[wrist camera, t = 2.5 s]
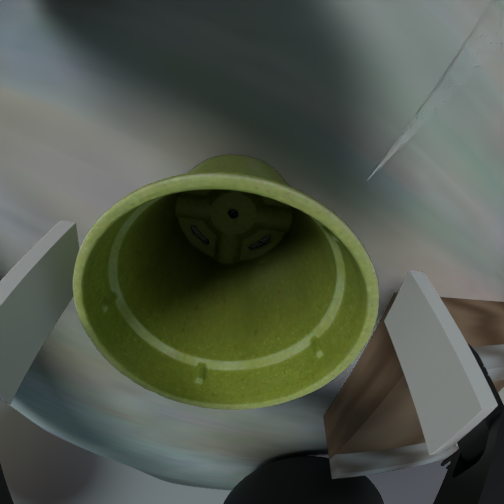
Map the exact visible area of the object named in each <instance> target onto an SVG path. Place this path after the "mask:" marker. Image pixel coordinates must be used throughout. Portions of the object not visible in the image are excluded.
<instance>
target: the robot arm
mask: <svg viewBox="0 0 504 504" xmlns="http://www.w3.org/2000/svg"><path fill="white" fill-rule="evenodd" d="M78 252H79V243H78V236H77V228H76V222H69V221H61V220H60V221H59V222H58V223H57V224H56V225H55V226H54V227H53V228H52V229H51V230H50V231H48V232H47V233H46V234H45V235H44V236H43V237H42V238H41V239H40V240H39V241H38V242H37V243H36V244H35V245H34V246H33V247H32V248H31V249H30V250H29V251H28V252H27V253H26V254H25V255H24V256H23V257H22V258H21V259H20V260H19V261H18V262H17V263H16V264H15V265H14V267H13V268H12V269H11V270H10V271H9V272H8V273H7V274H6V275H5V276H4V277H3V278H2V280H1V281H0V400H2V401H4V402H6V403H8V404H11V402H12V400H13V398H14V396H15V394H16V392H17V390H18V389H19V387H20V385H21V383H22V381H23V379H24V377H25V375H26V374H27V372H28V370H29V368H30V366H31V364H32V363H33V361H34V359H35V357H36V356H37V354H38V352H39V350H40V349H41V347H42V345H43V344H44V342H45V340H46V339H47V337H48V335H49V334H50V332H51V330H52V329H53V327H54V326H55V324H56V322H57V321H58V319H59V318H60V316H61V315H62V313H63V311H64V310H65V308H66V307H67V305H68V304H69V302H70V301H71V299H72V298H73V296H74V295H73V275H74V267H75V263H76V259H77V255H78ZM384 322H385V325H386V327H387V330H388V332H389V335H390V337H391V340H392V343H393V345H394V348H395V351H396V353H397V356H398V359H399V361H400V364H401V367H402V370H403V372H404V375H405V378H406V381H407V384H408V387H409V390H410V393H411V396H412V399H413V402H414V405H415V408H416V411H417V414H418V418H419V421H420V424H421V427H422V431H423V434H424V438H425V441H426V445H427V448H428V452H429V455H433V454H437V453H442V452H446V451H447V450H449V449H450V448H451V447H452V446H454V445H455V444H456V443H458V447H459V449H458V450H457V451H455V452H454V453H453V454H452V455H450V456H449V457H448V458H446V459H445V460H444V461H443V462H442V463H441V466H444V465H445V464H447V463H448V462H449V461H451V463H450V465H448V466H447V467H446V469H448V471H447V473H446V476H445V478H444V480H443V483H442V485H441V487H440V490H439V492H438V494H437V497H436V499H435V501H434V503H433V504H504V405H503V403H502V401H501V398H500V396H499V394H498V392H497V390H496V388H495V386H494V384H493V382H492V380H491V378H490V376H488V372H487V370H486V368H485V367H484V366H483V365H484V364H483V362H482V360H481V358H480V356H479V355H478V353H477V352H476V351H475V350H474V349H473V348H472V346H471V345H470V344H467V342H466V340H465V339H464V337H463V335H462V333H461V332H460V330H459V328H458V326H457V325H456V323H455V321H454V319H453V318H452V316H451V314H450V313H449V311H448V309H447V308H446V306H445V305H444V303H443V301H442V300H441V298H440V297H439V295H438V293H437V292H436V290H435V289H434V287H433V286H432V284H431V283H430V281H429V279H428V278H427V276H426V275H425V273H424V272H419V271H412V270H409V271H408V273H407V275H406V278H405V280H404V282H403V284H402V286H401V288H400V290H399V292H398V294H397V297H396V299H395V301H394V303H393V305H392V307H391V309H390V310H389V312H388V314H387V316H386V318H385V320H384ZM0 504H14V503H13V501H12V498H11V495H10V492H9V490H8V487H7V484H6V481H5V478H4V475H3V471H2V468H1V464H0Z"/></svg>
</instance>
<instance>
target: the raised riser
mask: <svg viewBox="0 0 504 504" xmlns="http://www.w3.org/2000/svg"><path fill="white" fill-rule="evenodd" d="M397 294H398V293H394V295H393V297H392V299H391V301H390V303H389V305H388V307H387V309H386V311H385V313H384V315H383V317H382V319H381V321H380V323H379V325H378V327H377V329H376V330H375V332H374V334H373V336H372V338H371V340H370V342H369V343H368V345H367V347H366V349H365V350H364V352H363V354H362V356H361V357H360V359H359V361H358V363H357V364H356V366H355V368H354V369H353V371H352V373H351V374H350V376H349V378H348V379H347V381H346V383H345V384H344V386H343V387H342V389H341V391H340V392H339V394H338V395H337V397H336V398H335V400H334V401H333V403H332V404H331V406H330V407H329V409H328V410H327V412H326V413H325V415H324V416H323V418H324V425H325V432H326V439H327V446H328V454H329V461H330V469H331V477H332V479H337V478H347V477H356V476H364V475H371V474H377V473H383V472H389V471H395V470H400V469H405V468H410V467H414V466H419V465H423V464H427V463H431V462H435V461H438V460H442V459H446V458H448V457H449V456H450V455H452V454H453V453H454V452H455V451H457V448H456V445H454V446H452V447H451V448H450V449H449V450H447V451H446V452H442V453H437V454H433V455H429V452H428V448H427V445H426V441H425V438H424V434H423V431H422V427H421V424H420V421H419V418H418V414H417V411H416V408H415V405H414V402H413V399H412V396H411V393H410V390H409V387H408V384H407V381H406V378H405V375H404V372H403V370H402V367H401V364H400V361H399V359H398V356H397V353H396V351H395V348H394V345H393V343H392V340H391V337H390V335H389V332H388V330H387V327H386V325H385V322H384V320H385V318H386V316H387V314H388V312H389V310H390V309H391V307H392V305H393V303H394V301H395V299H396V297H397ZM440 298H441V300H442V301H443V303H444V305H445V306H446V308H447V309H448V311H449V313H450V314H451V316H452V318H453V319H454V321H455V323H456V325H457V326H458V328H459V330H460V332H461V333H462V335H463V337H464V339H465V340H466V342H467V344H470V345H471V346H472V348H473V349H474V350H475V351H476V352H477V353H478V355H479V356H480V358H481V360H482V362H483V364H484V365H483V366H484V367H485V368H486V370H487V372H488V376H490V378H491V380H492V382H493V384H494V386H495V388H496V390H497V392H499V391H500V390H501V389H502V388H503V387H504V302H494V301H481V300H468V299H456V298H444V297H440Z"/></svg>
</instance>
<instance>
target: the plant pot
mask: <svg viewBox="0 0 504 504" xmlns="http://www.w3.org/2000/svg"><path fill="white" fill-rule="evenodd" d="M230 209H235V210H236V211H237V212H238V216H237V217H236V218H231V217H230V216H229V214H228V212H229V210H230ZM192 226H196V227H197V229H198V230H199V231H200V232H201V234H202V235H203V236H204V237H205V238H206V239H207V240H209V244H208V243H207V244H204V243H203V242H202V241H201V240H200V239H199V238H198V237H196V236H195V235H194V234H193V232H192V230H191V227H192ZM266 235H270V240H269V241H268V242H267V243H266V244H265V245H263V246H261V247H259V248H257V249H253V250H252V249H249V246H250V245H252V244H253V243H256V242H258V241H260V240H261V239H262V238H263V237H264V236H266ZM73 295H74V301H75V306H76V309H77V313H78V317H79V319H80V322H81V323H82V325H83V328H84V330H85V331H86V333H87V335H88V336H89V337H90V339H91V340H92V342H93V344H94V345H95V346H96V348H97V350H98V351H99V352H100V353H101V354H102V356H103V357H104V358H105V359H106V360H107V361H108V362H109V363H110V364H111V365H112V366H114V367H115V368H116V369H117V370H118V371H119V372H121V373H122V374H124V375H125V376H127V377H128V378H130V379H131V380H132V381H133V382H135V383H137V384H138V385H140V386H142V387H143V388H145V389H147V390H150V391H152V392H155V393H157V394H159V395H161V396H163V397H165V398H168V399H171V400H174V401H177V402H181V403H185V404H189V405H194V406H199V407H203V408H212V409H224V410H225V409H227V410H244V409H255V408H261V407H268V406H273V405H278V404H282V403H285V402H288V401H291V400H294V399H297V398H300V397H302V396H304V395H307V394H309V393H311V392H314V391H316V390H317V389H319V388H321V387H323V386H324V385H326V384H328V383H329V382H330V381H332V380H333V379H335V378H336V377H337V376H338V375H339V374H340V373H342V372H343V371H344V370H345V369H346V368H347V367H348V366H349V365H350V364H351V363H352V362H353V361H354V360H355V359H356V358H357V356H358V355H359V354H360V352H361V350H362V349H363V347H364V346H365V345H366V343H367V342H368V340H369V338H370V337H371V334H372V331H373V328H374V326H375V323H376V319H377V315H378V310H379V287H378V280H377V276H376V273H375V270H374V267H373V264H372V261H371V259H370V257H369V255H368V253H367V251H366V249H365V248H364V246H363V245H362V243H361V242H360V240H359V239H358V237H357V236H356V235H355V234H354V232H353V231H352V230H351V229H350V228H349V227H348V225H347V224H346V223H345V222H344V221H343V220H342V219H340V218H339V217H338V216H337V215H336V214H335V213H334V212H332V211H331V210H330V209H328V208H327V207H326V206H324V205H323V204H322V203H320V202H318V201H317V200H315V199H313V198H312V197H310V196H308V195H306V194H304V193H302V192H300V191H299V190H296V189H294V188H291V187H289V185H288V184H287V183H286V182H285V180H284V179H283V178H282V177H281V176H280V174H279V173H278V172H277V171H275V170H274V169H273V168H272V167H271V166H269V165H268V164H266V163H265V162H263V161H261V160H259V159H255V158H251V157H247V156H242V155H222V156H217V157H214V158H211V159H208V160H206V161H204V162H202V163H201V164H199V165H198V166H196V167H195V168H194V169H192V170H191V171H190V172H188V173H187V174H183V175H178V176H173V177H170V178H166V179H163V180H159V181H156V182H154V183H151V184H148V185H146V186H144V187H142V188H140V189H138V190H136V191H134V192H132V193H130V194H129V195H127V196H126V197H124V198H123V199H121V200H120V201H118V202H117V203H116V204H114V205H113V206H112V207H111V208H110V209H108V210H107V211H106V212H105V213H104V214H103V215H102V216H101V217H100V218H99V219H98V221H97V222H96V223H95V224H94V225H93V227H92V228H91V229H90V231H89V232H88V234H87V235H86V237H85V239H84V240H83V243H82V245H81V247H80V249H79V252H78V255H77V259H76V263H75V267H74V275H73Z"/></svg>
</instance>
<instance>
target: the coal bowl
mask: <svg viewBox="0 0 504 504" xmlns="http://www.w3.org/2000/svg"><path fill="white" fill-rule="evenodd" d="M224 504H384V502H383V500H382V497H381V495H380V493H379V491H378V490H377V489H376V487H375V485H374V484H373V483H372V482H371V481H370V480H369V479H368V478H367V477H366V476H365V475H364V476H356V477H347V478H337V479H332V477H331V469H330V461H329V458H325V457H316V456H300V457H292V458H286V459H282V460H279V461H275V462H272V463H270V464H267V465H265V466H263V467H261V468H259V469H257V470H255V471H254V472H252V473H251V474H249V475H248V476H246V477H245V478H244V479H243V480H242V481H240V482H239V483H238V484H237V485H236V486H235V488H234V489H233V490H232V491H231V492H230V494H229V495H228V497H227V498H226V500H225V502H224Z"/></svg>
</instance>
